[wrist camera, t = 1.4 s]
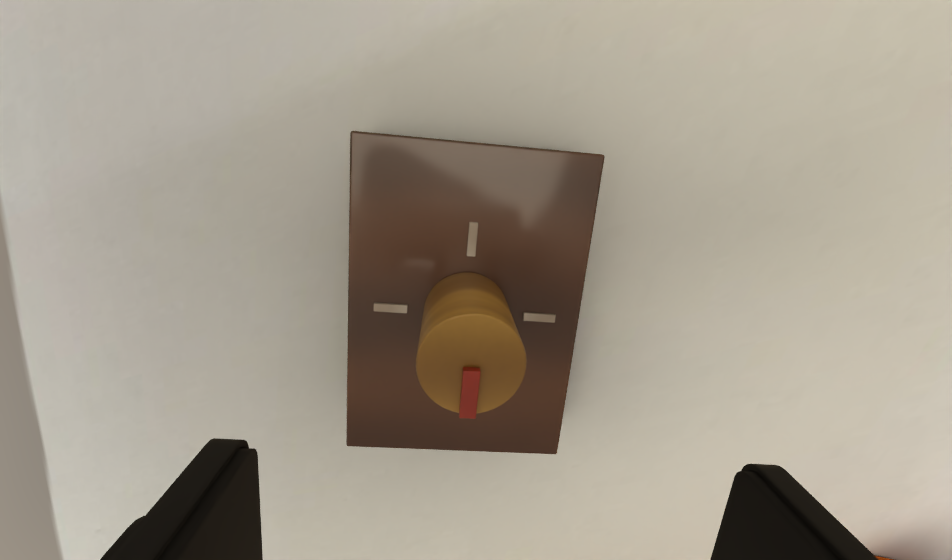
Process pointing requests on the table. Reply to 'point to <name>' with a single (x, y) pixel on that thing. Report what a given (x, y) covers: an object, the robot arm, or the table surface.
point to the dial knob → (469, 346)
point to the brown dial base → (457, 251)
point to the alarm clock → (882, 558)
